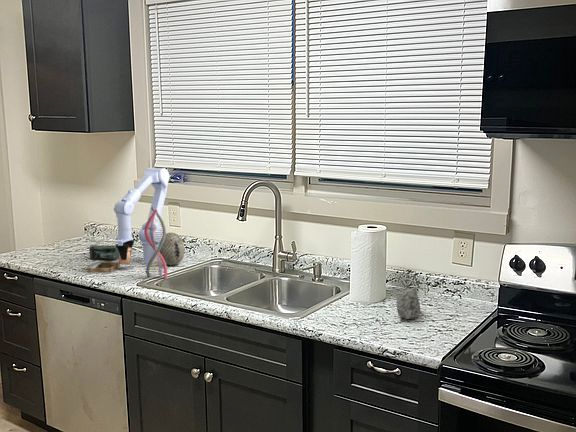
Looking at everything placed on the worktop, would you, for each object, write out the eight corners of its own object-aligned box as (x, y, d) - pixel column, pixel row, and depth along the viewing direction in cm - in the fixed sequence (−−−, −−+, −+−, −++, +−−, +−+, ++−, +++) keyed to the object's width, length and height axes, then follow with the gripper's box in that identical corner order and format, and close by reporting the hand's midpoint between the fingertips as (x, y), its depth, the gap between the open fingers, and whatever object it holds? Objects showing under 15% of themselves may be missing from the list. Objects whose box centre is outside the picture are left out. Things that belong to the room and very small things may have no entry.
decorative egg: (167, 269, 281) (165, 236, 278) (154, 264, 290) (153, 232, 287) (189, 265, 288) (188, 233, 286) (177, 260, 297) (175, 229, 295)
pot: (132, 262, 283) (132, 247, 282) (128, 265, 278) (129, 249, 277) (120, 261, 283) (120, 246, 282) (116, 264, 278) (117, 248, 277)
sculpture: (122, 247, 307) (91, 253, 305) (119, 236, 302) (87, 242, 300) (123, 264, 298) (90, 270, 296) (119, 252, 293) (86, 259, 291)
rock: (410, 305, 227) (408, 281, 224) (431, 309, 222) (429, 284, 219) (390, 323, 215) (387, 298, 213) (411, 328, 210) (409, 301, 208)
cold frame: (120, 266, 287) (120, 260, 286) (111, 273, 274) (110, 267, 274) (96, 265, 287) (96, 260, 287) (86, 273, 275) (86, 267, 274)
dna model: (162, 281, 261) (160, 209, 256) (142, 280, 263) (139, 209, 258) (170, 275, 270) (168, 206, 265) (151, 274, 272) (148, 206, 267)
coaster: (135, 267, 284) (135, 266, 284) (131, 271, 278) (131, 270, 278) (121, 267, 285) (121, 266, 285) (116, 271, 278) (116, 269, 278)
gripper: (120, 225, 285) (122, 254, 288) (110, 231, 271) (111, 261, 273) (136, 225, 285) (137, 254, 287) (126, 231, 271) (127, 262, 273)
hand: (125, 258), depth 280 cm, fingers closed on pot, 5 cm apart
